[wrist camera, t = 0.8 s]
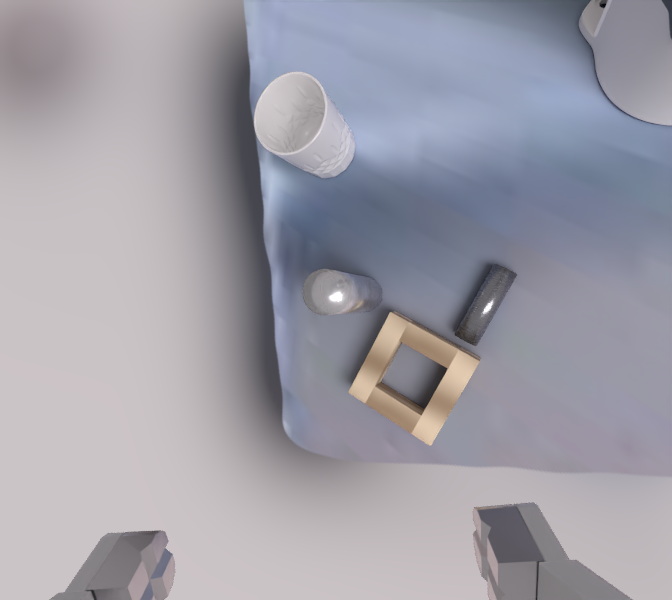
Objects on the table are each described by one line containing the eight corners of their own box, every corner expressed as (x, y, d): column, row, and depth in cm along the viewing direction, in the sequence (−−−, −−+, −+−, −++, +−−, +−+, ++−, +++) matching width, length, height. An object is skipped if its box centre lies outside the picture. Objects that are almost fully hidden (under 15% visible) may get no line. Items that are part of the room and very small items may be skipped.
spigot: (358, 271, 46) (314, 260, 35) (388, 286, 45) (353, 281, 34) (343, 301, 47) (295, 301, 36) (372, 318, 45) (332, 323, 34)
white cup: (289, 171, 49) (242, 141, 40) (314, 109, 48) (271, 62, 39) (344, 192, 47) (306, 165, 38) (371, 127, 46) (340, 82, 36)
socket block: (395, 311, 44) (390, 311, 42) (480, 357, 41) (479, 361, 39) (355, 387, 46) (348, 392, 44) (433, 438, 43) (430, 446, 41)
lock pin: (495, 265, 41) (492, 262, 39) (518, 275, 40) (516, 272, 38) (457, 333, 42) (452, 333, 40) (478, 345, 41) (474, 346, 39)
